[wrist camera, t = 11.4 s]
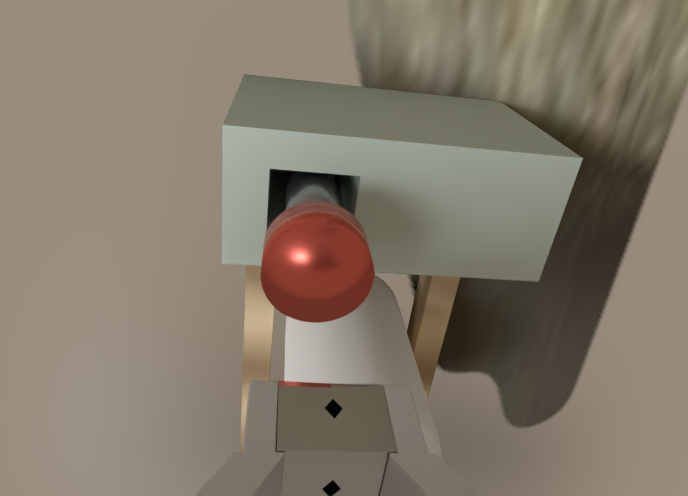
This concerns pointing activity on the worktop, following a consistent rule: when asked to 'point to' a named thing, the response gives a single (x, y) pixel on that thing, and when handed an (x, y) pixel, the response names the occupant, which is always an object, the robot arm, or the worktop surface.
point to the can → (360, 352)
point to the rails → (422, 329)
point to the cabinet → (399, 175)
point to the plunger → (315, 253)
